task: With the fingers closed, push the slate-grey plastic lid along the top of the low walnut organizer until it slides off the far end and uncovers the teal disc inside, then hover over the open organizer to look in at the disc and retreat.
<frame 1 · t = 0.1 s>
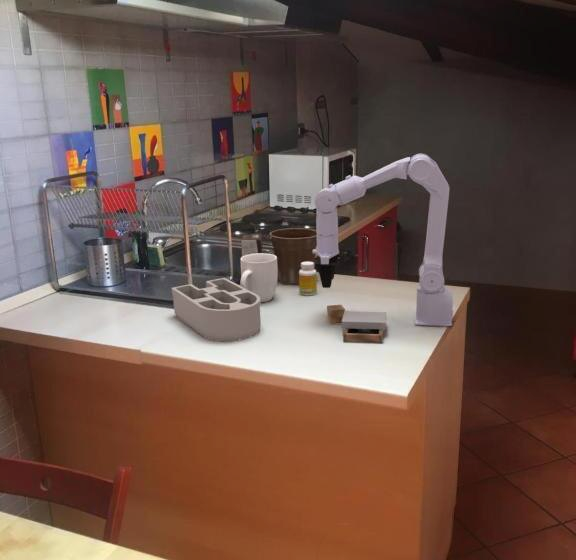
hand: (328, 283, 172), 10 cm above the worktop, tool pointing down, fingers open, 7 cm apart
mug: (258, 300, 192), on the worktop
coffee box: (254, 285, 208), on the worktop
teal disc: (364, 330, 166), resting in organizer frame
plant pot: (296, 280, 212), on the worktop
supplement bottle: (308, 293, 197), on the worktop
compartment caddy: (221, 325, 174), on the worktop
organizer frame: (364, 332, 164), on the worktop
lid: (364, 323, 165), point 2 cm above the worktop, touching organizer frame
beech block: (336, 321, 173), on the worktop
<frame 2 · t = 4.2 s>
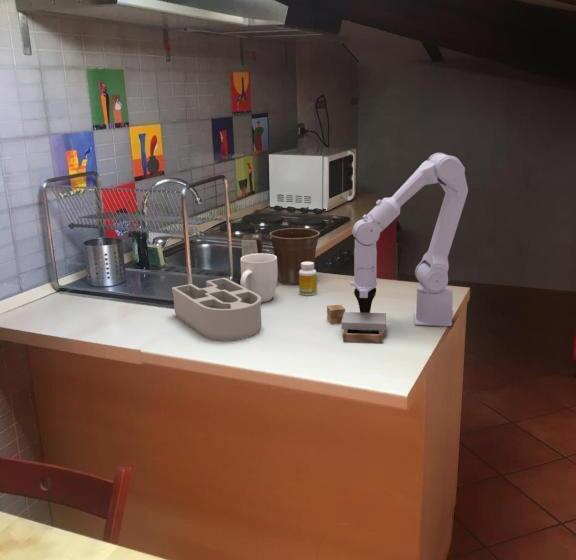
hand: (365, 315, 169), 3 cm above the worktop, tool pointing down, fingers closed
lid: (364, 324, 164), point 2 cm above the worktop, touching gripper
everything else where it was.
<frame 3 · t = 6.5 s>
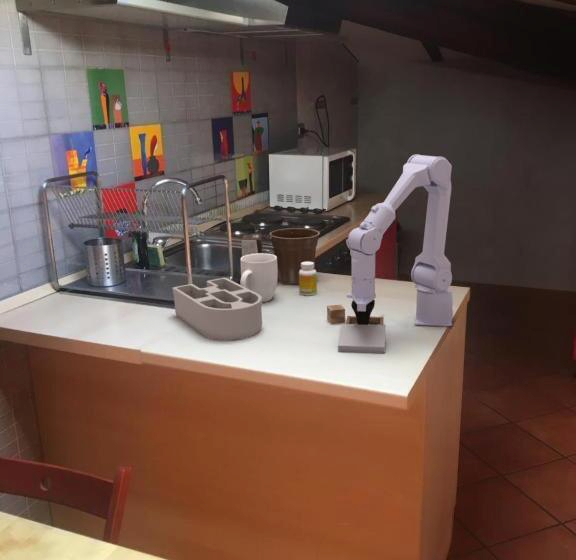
hand: (363, 329, 159), 3 cm above the worktop, tool pointing down, fingers closed
lid: (362, 340, 155), point 1 cm above the worktop, tilted 19°, touching gripper, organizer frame
everything else where it was.
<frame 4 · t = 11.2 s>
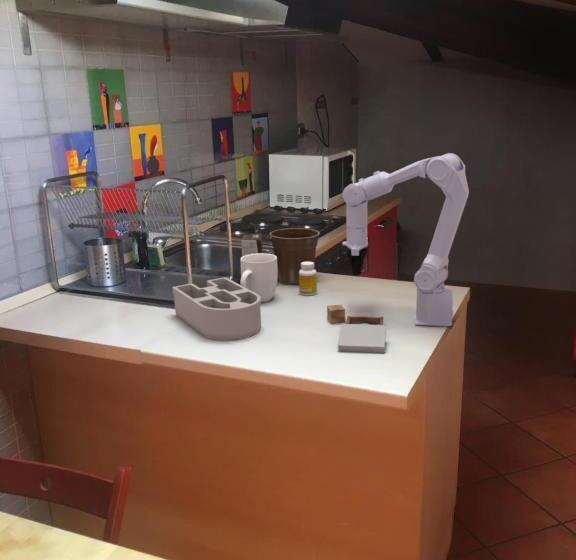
hand: (356, 274, 178), 10 cm above the worktop, tool pointing down, fingers closed
lid: (362, 340, 155), point 1 cm above the worktop, tilted 19°, touching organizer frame
everything else where it was.
at the end: lid moved 10.4 cm from its start; lid inside the target area on the worktop beside the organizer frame (6.7 cm from its centre), point 1.3 cm above the worktop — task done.
